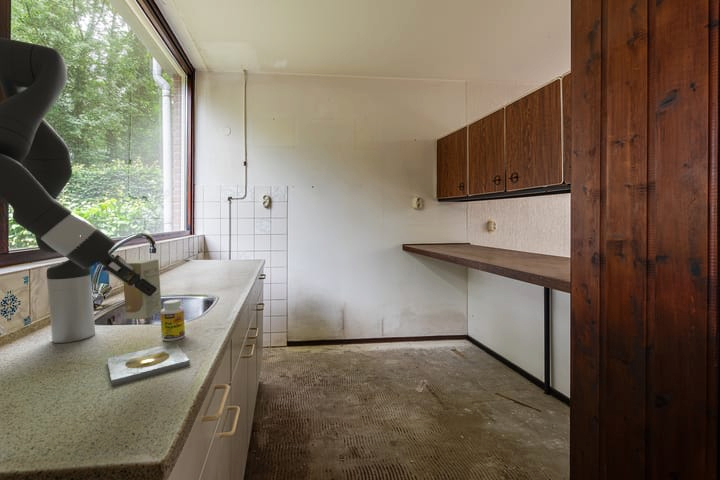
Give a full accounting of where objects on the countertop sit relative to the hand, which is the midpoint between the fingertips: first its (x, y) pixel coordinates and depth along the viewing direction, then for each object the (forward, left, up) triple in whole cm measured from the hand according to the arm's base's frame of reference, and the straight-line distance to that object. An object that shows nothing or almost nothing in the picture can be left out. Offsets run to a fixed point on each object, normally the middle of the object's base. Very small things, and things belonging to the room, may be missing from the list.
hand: (150, 289), depth 76 cm
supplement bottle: (-15, +7, -17) cm, 24 cm away
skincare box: (0, -1, -6) cm, 6 cm away
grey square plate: (0, -1, -17) cm, 17 cm away
